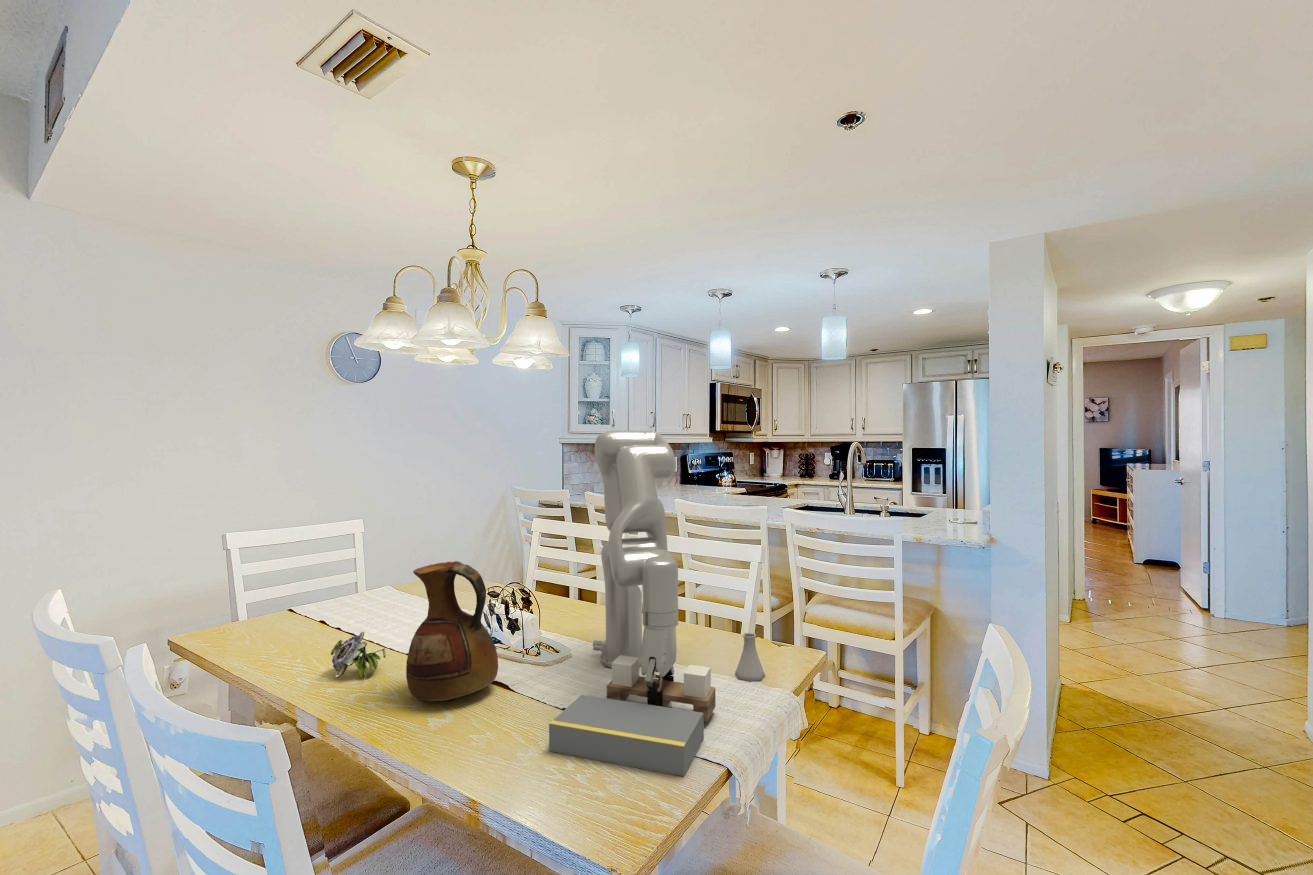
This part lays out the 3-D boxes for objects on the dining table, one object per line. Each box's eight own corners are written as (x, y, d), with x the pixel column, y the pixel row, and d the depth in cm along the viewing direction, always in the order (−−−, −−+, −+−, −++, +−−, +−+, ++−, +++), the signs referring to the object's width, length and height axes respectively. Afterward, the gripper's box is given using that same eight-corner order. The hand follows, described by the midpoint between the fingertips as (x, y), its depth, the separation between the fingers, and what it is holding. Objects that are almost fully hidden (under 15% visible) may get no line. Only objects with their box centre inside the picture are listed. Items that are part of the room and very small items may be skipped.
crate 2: (683, 694, 117) (683, 673, 117) (690, 685, 122) (689, 664, 121) (705, 698, 116) (705, 676, 116) (710, 688, 120) (710, 667, 120)
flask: (765, 683, 135) (764, 640, 135) (734, 680, 137) (733, 638, 137) (765, 671, 142) (764, 630, 143) (735, 669, 144) (735, 628, 144)
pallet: (606, 704, 122) (606, 685, 122) (618, 690, 128) (618, 673, 128) (707, 721, 115) (707, 701, 115) (715, 706, 121) (715, 687, 121)
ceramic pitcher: (428, 675, 142) (427, 554, 143) (509, 675, 142) (507, 553, 142) (389, 712, 123) (388, 571, 123) (482, 712, 122) (481, 571, 123)
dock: (549, 750, 106) (549, 723, 106) (581, 718, 119) (581, 694, 119) (684, 776, 98) (683, 746, 98) (703, 738, 110) (703, 712, 110)
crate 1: (611, 683, 123) (611, 662, 123) (620, 675, 127) (620, 655, 127) (631, 686, 121) (631, 665, 121) (639, 678, 125) (639, 657, 125)
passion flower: (339, 698, 142) (319, 655, 145) (382, 676, 151) (362, 636, 153) (351, 683, 136) (330, 639, 138) (395, 661, 144) (374, 619, 147)
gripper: (657, 603, 131) (657, 681, 131) (628, 628, 114) (628, 717, 114) (689, 606, 128) (689, 686, 128) (664, 632, 112) (664, 724, 112)
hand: (660, 700), depth 121 cm, fingers closed on pallet, 6 cm apart
